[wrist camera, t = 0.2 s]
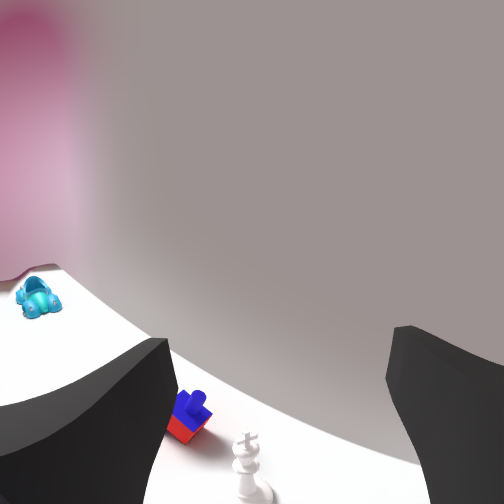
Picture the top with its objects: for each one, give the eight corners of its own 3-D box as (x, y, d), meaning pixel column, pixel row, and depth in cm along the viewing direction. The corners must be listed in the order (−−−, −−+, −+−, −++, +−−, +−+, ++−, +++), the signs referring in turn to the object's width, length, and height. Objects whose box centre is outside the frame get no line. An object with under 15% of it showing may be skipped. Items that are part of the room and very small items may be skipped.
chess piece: (210, 488, 22) (200, 421, 20) (255, 470, 25) (257, 402, 22) (235, 524, 18) (231, 465, 16) (283, 502, 20) (294, 438, 18)
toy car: (48, 291, 71) (44, 267, 69) (66, 310, 60) (62, 283, 58) (14, 299, 62) (10, 275, 61) (26, 322, 52) (19, 293, 50)
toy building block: (180, 450, 28) (201, 421, 25) (153, 425, 30) (168, 392, 26) (198, 433, 32) (222, 401, 28) (172, 410, 33) (190, 375, 30)
